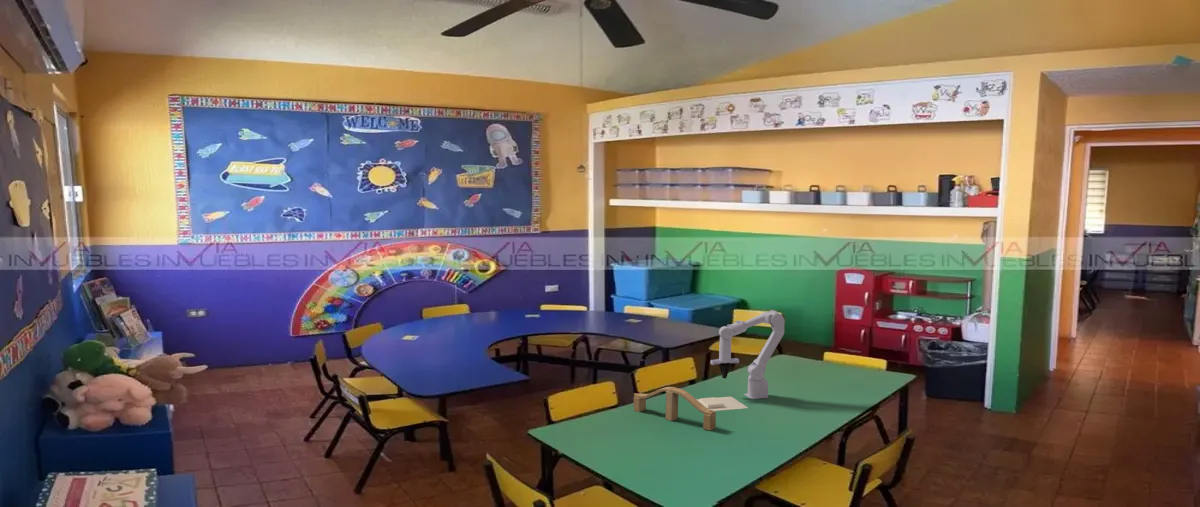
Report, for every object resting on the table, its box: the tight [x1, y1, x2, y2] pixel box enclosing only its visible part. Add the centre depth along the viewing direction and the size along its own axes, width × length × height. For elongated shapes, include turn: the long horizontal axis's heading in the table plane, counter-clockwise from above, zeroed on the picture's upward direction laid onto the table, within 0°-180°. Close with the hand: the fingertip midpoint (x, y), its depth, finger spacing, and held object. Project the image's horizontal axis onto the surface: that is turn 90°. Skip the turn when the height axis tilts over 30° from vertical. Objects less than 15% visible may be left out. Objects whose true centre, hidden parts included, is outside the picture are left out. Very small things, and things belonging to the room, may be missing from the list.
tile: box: [698, 396, 724, 408], centre depth 339 cm, size 2×10×8 cm
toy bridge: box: [633, 386, 717, 431], centre depth 318 cm, size 42×6×14 cm, turn 50°
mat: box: [695, 396, 749, 412], centre depth 340 cm, size 22×18×1 cm
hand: (724, 377), depth 352 cm, fingers closed
